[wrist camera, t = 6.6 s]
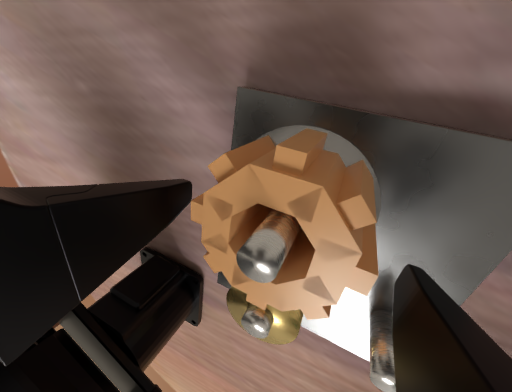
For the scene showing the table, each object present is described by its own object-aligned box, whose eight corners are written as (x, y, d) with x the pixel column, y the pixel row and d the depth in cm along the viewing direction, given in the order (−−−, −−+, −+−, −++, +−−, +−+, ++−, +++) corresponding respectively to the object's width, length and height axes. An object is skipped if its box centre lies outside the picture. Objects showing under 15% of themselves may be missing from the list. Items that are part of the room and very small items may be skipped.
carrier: (392, 359, 14) (407, 513, 9) (224, 275, 17) (166, 348, 12) (570, 151, 7) (996, 271, 2) (247, 87, 11) (148, 81, 6)
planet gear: (344, 278, 12) (336, 353, 8) (231, 230, 14) (187, 274, 10) (406, 151, 8) (433, 190, 5) (245, 113, 10) (187, 123, 7)
